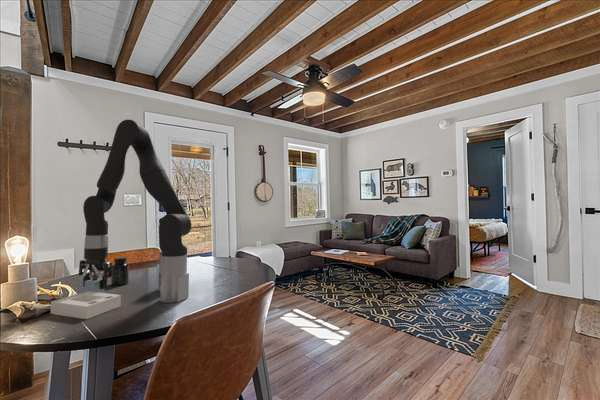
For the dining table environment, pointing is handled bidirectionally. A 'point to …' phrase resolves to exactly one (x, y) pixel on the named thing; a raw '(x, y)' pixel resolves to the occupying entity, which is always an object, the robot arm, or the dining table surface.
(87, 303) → the socket plate
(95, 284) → the plug block
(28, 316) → the dining table surface
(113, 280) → the supplement bottle
